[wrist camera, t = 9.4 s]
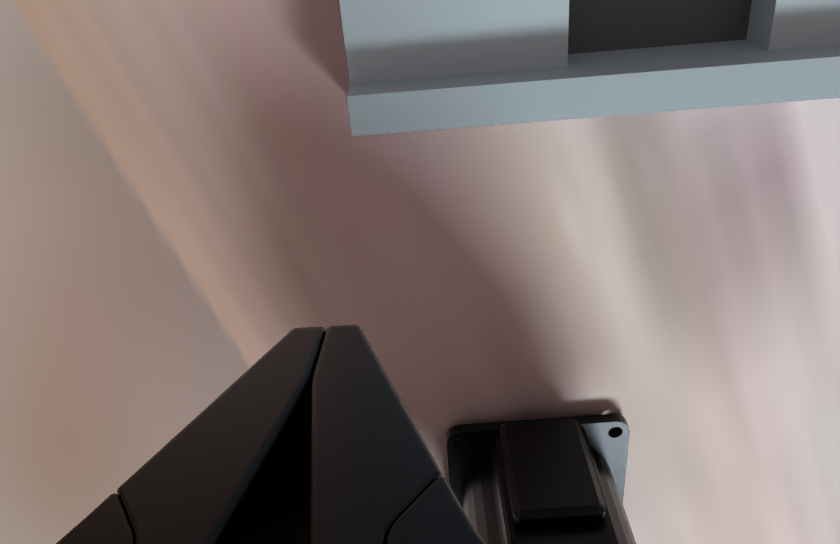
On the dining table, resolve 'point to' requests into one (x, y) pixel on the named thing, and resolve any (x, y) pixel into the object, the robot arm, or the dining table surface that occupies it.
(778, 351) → the dining table surface
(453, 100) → the box
